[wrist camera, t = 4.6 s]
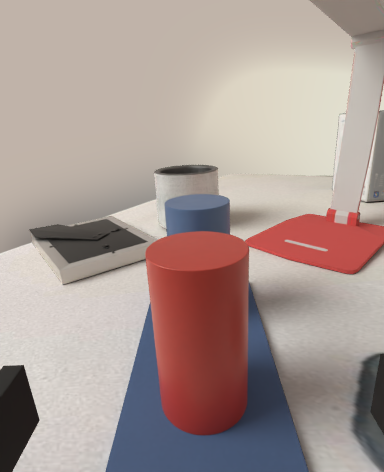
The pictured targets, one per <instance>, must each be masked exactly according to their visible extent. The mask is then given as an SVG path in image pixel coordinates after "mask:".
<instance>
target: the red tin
mask: <svg viewBox="0 0 384 472" xmlns="http://www.w3.org/2000/svg"><path fill="white" fill-rule="evenodd" d="M145 257H146V266H147V275H148V284H149V293H150V303H151V312H152V321H153V330H154V339H155V348H156V358H157V367H158V376H159V385H160V394H161V403H162V408H163V411H164V414H165V415H166V417H167V419H168V420H169V421H170V422H171V423H172V424H173V425H174V426H176V427H177V428H179V429H180V430H182V431H184V432H187V433H190V434H195V435H213V434H218V433H221V432H223V431H226V430H228V429H229V428H231V427H233V426H234V425H235V424H236V423H237V422H238V421H239V420H240V419H241V417H242V416H243V414H244V412H245V410H246V407H247V392H248V292H249V247H248V245H247V244H246V242H245V241H243V240H242V239H240V238H238V237H236V236H233V235H229V234H225V233H219V232H209V231H196V232H185V233H179V234H174V235H170V236H167V237H164V238H161V239H159V240H157V241H155V242H153V243H152V244H151V245H150V246H149V247H148V248H147V249H146V252H145Z"/></svg>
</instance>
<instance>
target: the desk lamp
mask: <svg viewBox="0 0 384 472" xmlns="http://www.w3.org/2000/svg"><path fill="white" fill-rule="evenodd" d="M310 1H311V2H312V3H313V4H315V5H316V6H317V7H318V8H319V9H320V10H321V11H322V12H324V13H325V14H326V15H327V16H328V17H329V18H331V19H332V20H333V21H334V22H335V23H336V24H337V25H338V26H340V27H341V28H342V29H343V30H344V31H346V32H347V33H348V34H349V35H350V36H351V37H352V39H351V48H352V49H355V54H354V60H353V68H352V74H351V82H350V89H349V96H348V103H347V111H346V118H345V124H344V131H343V137H342V144H341V150H340V156H339V163H338V168H337V174H336V180H335V185H334V191H333V197H332V202H331V208H329V209H328V211H327V217H326V216H320V215H314V214H306V215H302V216H299V217H296V218H292V219H289V220H286V221H284V222H282V223H280V224H278V225H275V226H273V227H271V228H269V229H267V230H265V231H263V232H261V233H259V234H257V235H255V236H252V237H250V238H248V239H247V240H246V241H245V242H246V244H247V245H248V246H250V247H253V248H256V249H259V250H262V251H265V252H268V253H271V254H274V255H277V256H280V257H283V258H286V259H289V260H293V261H297V262H301V263H305V264H309V265H313V266H317V267H321V268H326V269H330V270H334V271H338V272H342V273H346V274H354V273H356V272H358V271H359V270H360V269H361V268H362V267H363V266H364V265H365V264H366V262H367V261H368V260H369V259H370V258H371V257H372V256H373V255H374V254H375V253H376V252H377V251H378V250H379V248H380V247H381V246H382V245H383V244H384V226H378V225H373V224H367V223H361V222H359V219H360V212H358V210H359V205H360V201H361V196H362V192H363V188H364V183H365V179H366V174H367V170H368V165H369V160H370V155H371V150H372V145H373V140H374V135H375V129H376V124H377V119H378V114H379V107H380V102H381V96H382V90H383V84H384V0H310Z"/></svg>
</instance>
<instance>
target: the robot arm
mask: <svg viewBox="0 0 384 472" xmlns="http://www.w3.org/2000/svg"><path fill="white" fill-rule="evenodd" d="M371 414H372V415H373V417H374V419H375V420H376V422H377V424H378V425H379V427H380V429H381V430H382V432H383V434H384V354H381V355H380V361H379V366H378V372H377V378H376V384H375V389H374V395H373V401H372V406H371ZM38 422H39V417H38V413H37V410H36V406H35V403H34V399H33V396H32V392H31V389H30V386H29V382H28V379H27V375H26V372H25V368H24V365H17V366H3V367H2V369H1V370H0V472H12V471H13V469H14V467H15V465H16V463H17V462H18V460H19V458H20V456H21V454H22V452H23V450H24V448H25V447H26V445H27V443H28V441H29V439H30V437H31V435H32V433H33V432H34V430H35V428H36V426H37V424H38Z"/></svg>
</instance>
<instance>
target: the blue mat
mask: <svg viewBox="0 0 384 472" xmlns="http://www.w3.org/2000/svg"><path fill="white" fill-rule="evenodd" d="M106 472H309V471H308V468H307V465H306V461H305V458H304V455H303V452H302V449H301V446H300V442H299V439H298V436H297V433H296V430H295V426H294V423H293V420H292V417H291V414H290V411H289V407H288V404H287V401H286V398H285V395H284V392H283V388H282V385H281V382H280V379H279V376H278V372H277V369H276V366H275V363H274V360H273V357H272V353H271V350H270V347H269V344H268V341H267V338H266V334H265V331H264V328H263V325H262V322H261V318H260V315H259V312H258V309H257V306H256V303H255V299H254V296H253V293H252V290H251V287H250V283H249V292H248V392H247V407H246V410H245V412H244V414H243V416H242V417H241V419H240V420H239V421H238V422H237V423H236V424H235V425H234V426H233V427H231V428H229V429H228V430H226V431H223V432H221V433H218V434H213V435H195V434H190V433H187V432H184V431H182V430H180V429H179V428H177V427H176V426H174V425H173V424H172V423H171V422H170V421H169V420H168V419H167V417H166V415H165V414H164V411H163V408H162V403H161V394H160V385H159V376H158V367H157V358H156V348H155V339H154V330H153V321H152V312H151V303H150V305H149V309H148V312H147V316H146V320H145V324H144V328H143V331H142V335H141V339H140V343H139V347H138V350H137V354H136V358H135V362H134V365H133V369H132V373H131V377H130V381H129V384H128V388H127V392H126V396H125V400H124V403H123V407H122V411H121V415H120V419H119V422H118V426H117V430H116V434H115V437H114V441H113V445H112V449H111V453H110V456H109V460H108V464H107V468H106Z"/></svg>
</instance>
